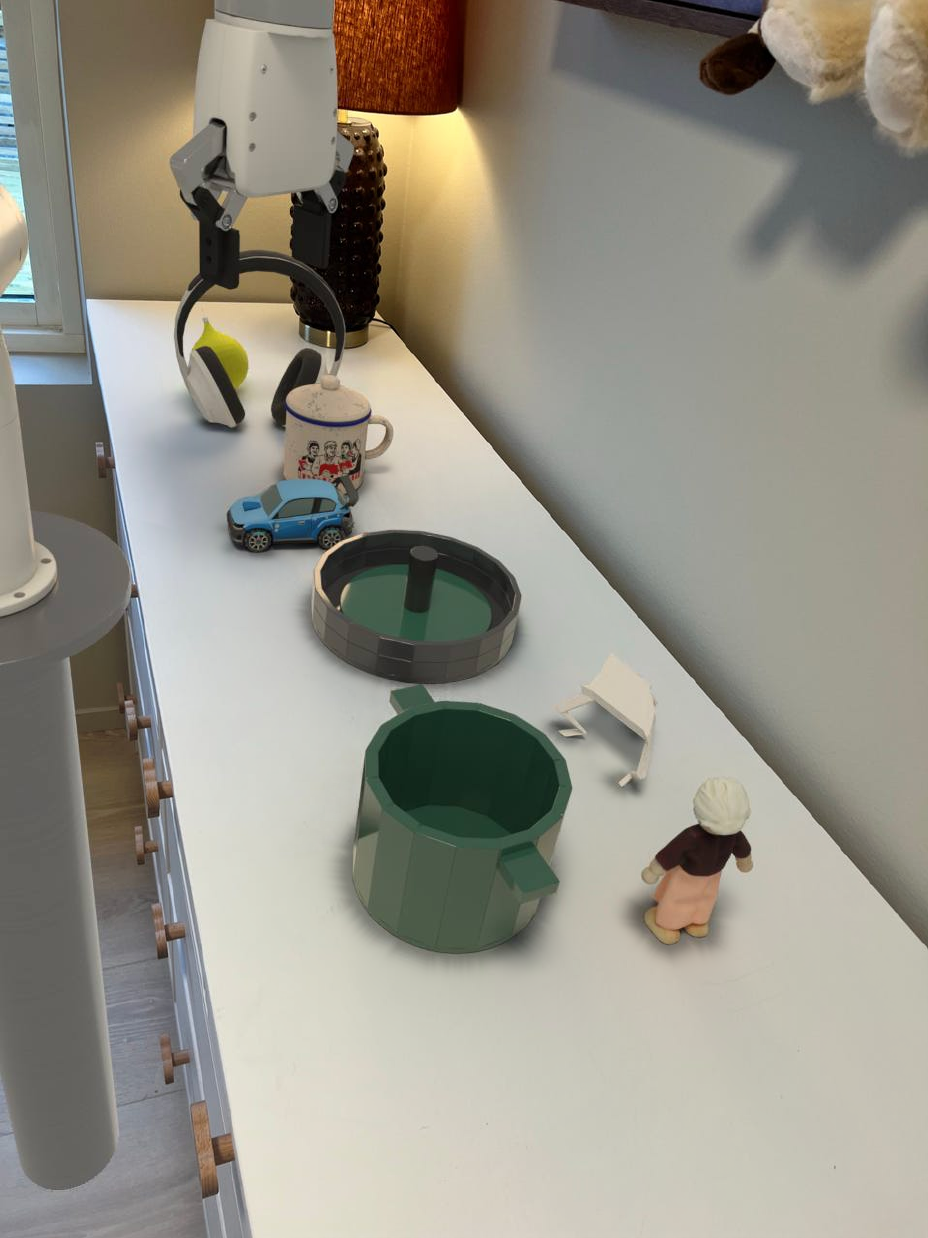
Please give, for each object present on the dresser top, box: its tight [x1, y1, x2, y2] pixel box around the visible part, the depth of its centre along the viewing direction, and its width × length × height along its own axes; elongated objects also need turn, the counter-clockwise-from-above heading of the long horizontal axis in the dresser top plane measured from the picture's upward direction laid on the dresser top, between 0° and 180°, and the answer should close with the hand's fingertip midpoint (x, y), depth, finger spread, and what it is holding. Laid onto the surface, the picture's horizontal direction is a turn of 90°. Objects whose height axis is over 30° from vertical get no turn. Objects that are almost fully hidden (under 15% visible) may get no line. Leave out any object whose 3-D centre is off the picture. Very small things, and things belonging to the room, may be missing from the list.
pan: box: [310, 529, 523, 684], centre depth 87 cm, size 18×18×4 cm
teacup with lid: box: [283, 375, 394, 495], centre depth 104 cm, size 12×9×12 cm
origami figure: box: [552, 651, 659, 788], centre depth 76 cm, size 12×8×5 cm
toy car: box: [226, 474, 360, 553], centre depth 95 cm, size 6×12×6 cm, turn 109°
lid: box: [340, 546, 492, 642], centre depth 86 cm, size 14×14×7 cm
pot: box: [352, 683, 573, 954], centre depth 62 cm, size 13×18×10 cm
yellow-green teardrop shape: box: [190, 306, 249, 390], centre depth 119 cm, size 7×7×10 cm
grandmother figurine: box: [640, 776, 754, 945], centre depth 60 cm, size 8×4×13 cm, turn 118°
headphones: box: [173, 249, 346, 428], centre depth 111 cm, size 19×8×20 cm, turn 110°
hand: (266, 272), depth 72 cm, fingers open, 9 cm apart
